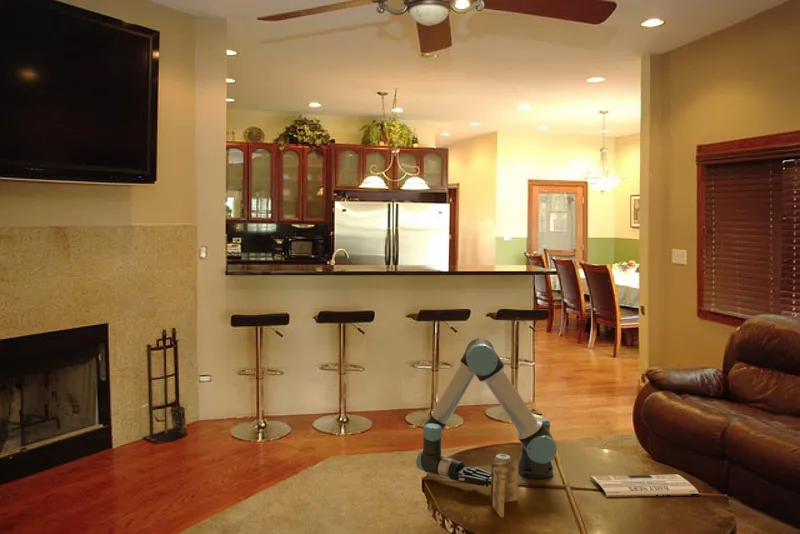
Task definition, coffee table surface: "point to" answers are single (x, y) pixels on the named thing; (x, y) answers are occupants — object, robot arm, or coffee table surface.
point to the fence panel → (507, 479)
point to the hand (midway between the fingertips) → (505, 484)
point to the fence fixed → (498, 491)
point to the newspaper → (644, 485)
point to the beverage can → (502, 458)
